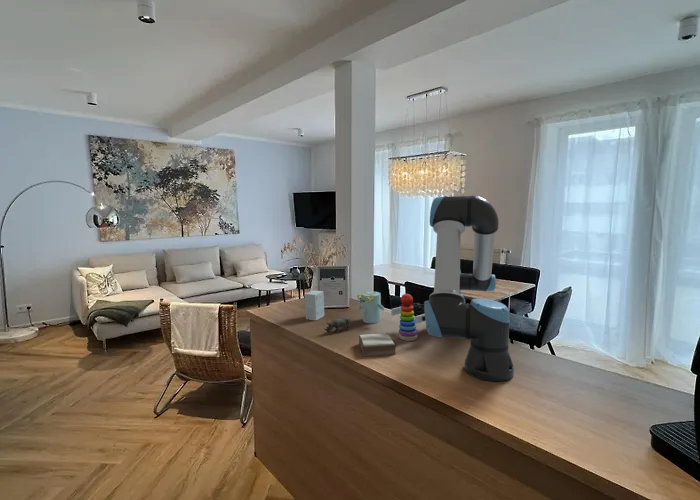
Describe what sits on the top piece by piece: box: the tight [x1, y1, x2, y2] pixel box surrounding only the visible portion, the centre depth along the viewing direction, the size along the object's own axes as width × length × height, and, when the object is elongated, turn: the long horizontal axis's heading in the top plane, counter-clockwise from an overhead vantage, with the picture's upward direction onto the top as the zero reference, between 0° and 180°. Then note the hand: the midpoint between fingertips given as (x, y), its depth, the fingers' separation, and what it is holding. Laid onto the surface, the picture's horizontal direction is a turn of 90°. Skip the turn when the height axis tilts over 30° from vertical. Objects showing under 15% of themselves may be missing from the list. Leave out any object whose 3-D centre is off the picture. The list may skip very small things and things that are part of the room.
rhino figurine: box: [324, 316, 351, 334], centre depth 158 cm, size 4×14×6 cm, turn 124°
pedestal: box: [358, 332, 396, 357], centre depth 138 cm, size 12×12×4 cm
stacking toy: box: [398, 293, 419, 342], centre depth 147 cm, size 8×8×19 cm
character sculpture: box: [356, 291, 385, 324], centre depth 171 cm, size 20×12×13 cm, turn 34°
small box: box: [304, 289, 325, 321], centre depth 178 cm, size 8×6×13 cm
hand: (403, 316), depth 146 cm, fingers open, 13 cm apart
